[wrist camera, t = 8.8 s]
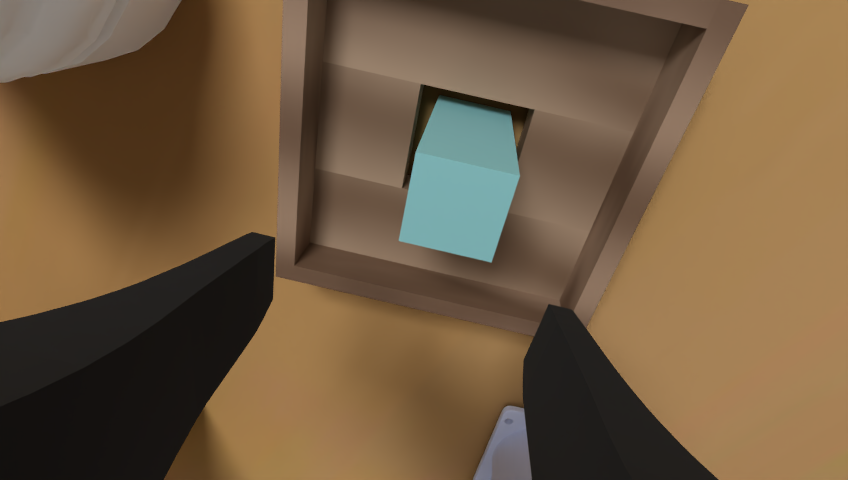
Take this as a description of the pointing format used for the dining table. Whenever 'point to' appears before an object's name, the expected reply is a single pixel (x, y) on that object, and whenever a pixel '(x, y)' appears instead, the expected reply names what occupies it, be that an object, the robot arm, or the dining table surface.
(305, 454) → the dining table surface
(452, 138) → the peg
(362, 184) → the socket box
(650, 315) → the dining table surface
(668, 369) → the dining table surface
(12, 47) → the honey pot
